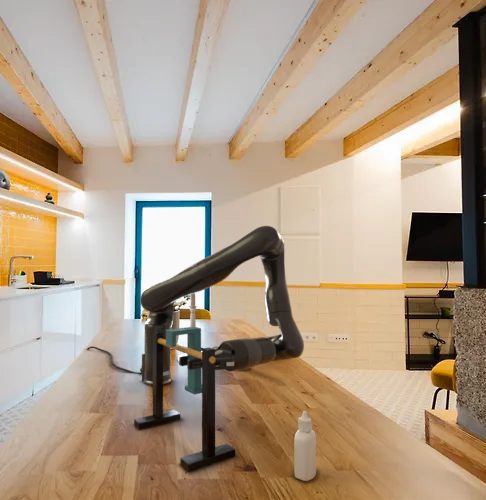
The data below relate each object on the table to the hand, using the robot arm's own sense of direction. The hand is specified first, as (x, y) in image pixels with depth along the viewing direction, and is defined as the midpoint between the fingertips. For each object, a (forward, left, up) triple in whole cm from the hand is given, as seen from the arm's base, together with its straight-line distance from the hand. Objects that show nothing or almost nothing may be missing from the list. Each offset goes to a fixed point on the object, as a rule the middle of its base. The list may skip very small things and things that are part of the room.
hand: (184, 363), depth 88 cm
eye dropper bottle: (+27, -2, -18) cm, 33 cm away
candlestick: (-30, +65, -18) cm, 74 cm away
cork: (-8, +63, -18) cm, 66 cm away
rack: (-1, -1, -17) cm, 17 cm away
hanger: (0, +1, -7) cm, 7 cm away
